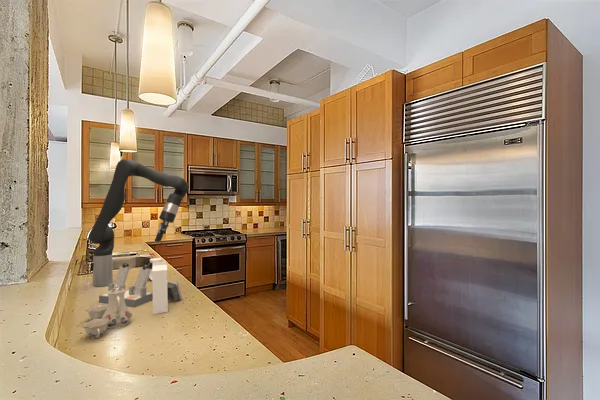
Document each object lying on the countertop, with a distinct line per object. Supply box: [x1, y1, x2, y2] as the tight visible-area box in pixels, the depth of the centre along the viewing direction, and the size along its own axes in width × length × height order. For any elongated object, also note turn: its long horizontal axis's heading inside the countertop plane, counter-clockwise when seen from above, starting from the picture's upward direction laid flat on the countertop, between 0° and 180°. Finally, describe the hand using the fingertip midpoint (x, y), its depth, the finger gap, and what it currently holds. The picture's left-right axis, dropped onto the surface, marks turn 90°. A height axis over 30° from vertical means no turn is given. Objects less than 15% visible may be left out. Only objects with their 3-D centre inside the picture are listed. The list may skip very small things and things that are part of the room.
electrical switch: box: [167, 280, 183, 303], centre depth 156 cm, size 9×5×9 cm, turn 57°
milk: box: [151, 260, 169, 315], centre depth 141 cm, size 6×6×22 cm
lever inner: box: [113, 262, 131, 287], centre depth 160 cm, size 5×3×14 cm, turn 72°
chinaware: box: [82, 284, 133, 339], centre depth 125 cm, size 28×17×17 cm, turn 36°
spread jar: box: [147, 257, 163, 281], centre depth 195 cm, size 12×11×12 cm
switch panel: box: [98, 282, 153, 308], centre depth 155 cm, size 22×12×7 cm, turn 72°
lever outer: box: [133, 264, 151, 294], centre depth 156 cm, size 5×3×14 cm, turn 72°
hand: (157, 241), depth 166 cm, fingers open, 8 cm apart
